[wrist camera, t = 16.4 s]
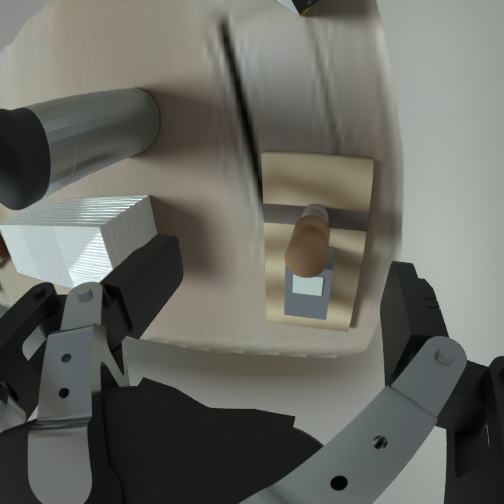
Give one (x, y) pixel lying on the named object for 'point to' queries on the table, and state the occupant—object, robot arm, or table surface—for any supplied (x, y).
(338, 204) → the board
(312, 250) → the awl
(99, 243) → the white rectangular block
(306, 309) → the block
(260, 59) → the table surface
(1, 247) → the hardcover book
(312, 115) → the table surface
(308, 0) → the medicine bottle
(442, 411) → the robot arm
